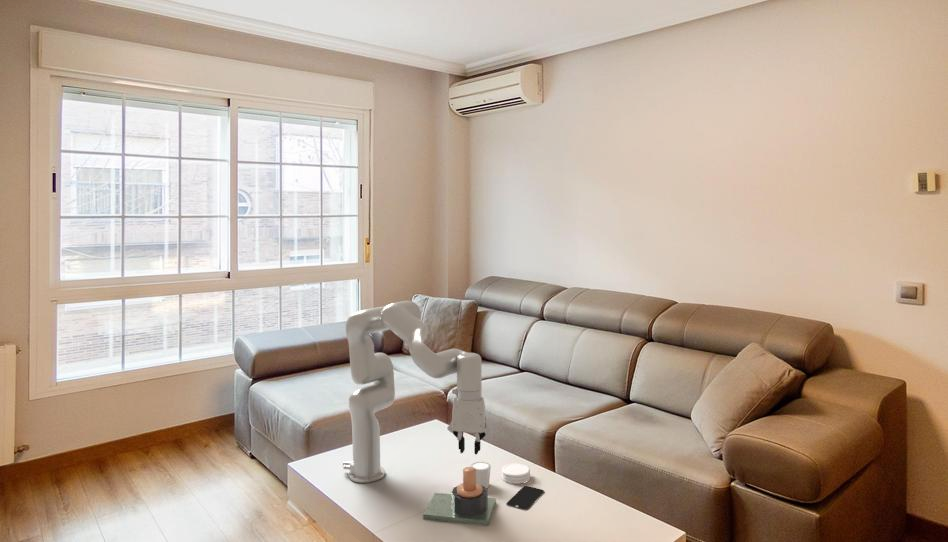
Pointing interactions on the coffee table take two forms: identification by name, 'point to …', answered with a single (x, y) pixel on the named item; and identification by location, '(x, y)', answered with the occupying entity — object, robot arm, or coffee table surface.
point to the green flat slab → (461, 508)
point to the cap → (469, 484)
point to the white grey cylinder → (482, 473)
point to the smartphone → (525, 498)
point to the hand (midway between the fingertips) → (469, 451)
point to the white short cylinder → (515, 473)
